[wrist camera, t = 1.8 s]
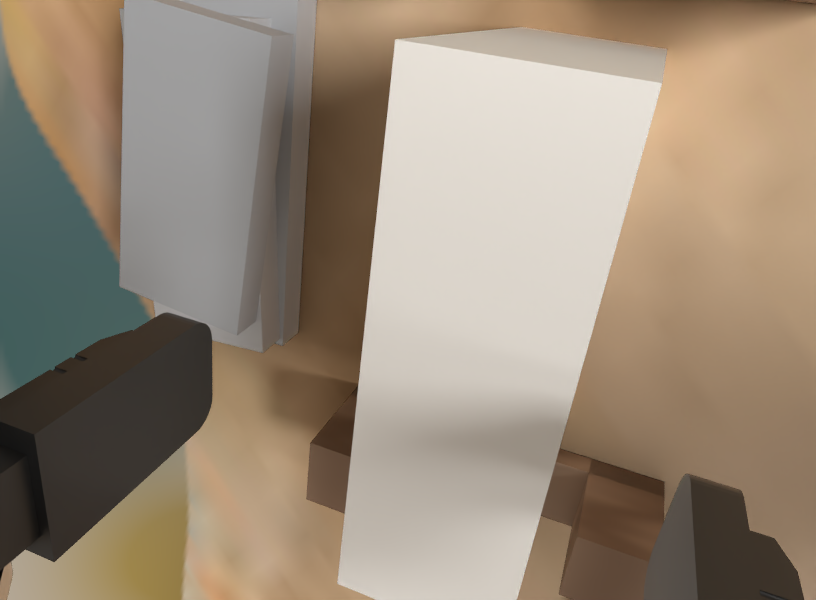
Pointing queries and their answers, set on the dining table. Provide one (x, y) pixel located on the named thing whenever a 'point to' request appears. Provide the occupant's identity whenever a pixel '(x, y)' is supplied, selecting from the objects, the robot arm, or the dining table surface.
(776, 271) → the dining table surface
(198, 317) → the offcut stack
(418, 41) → the off-white panel
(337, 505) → the walnut rack
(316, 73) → the dining table surface
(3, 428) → the robot arm
